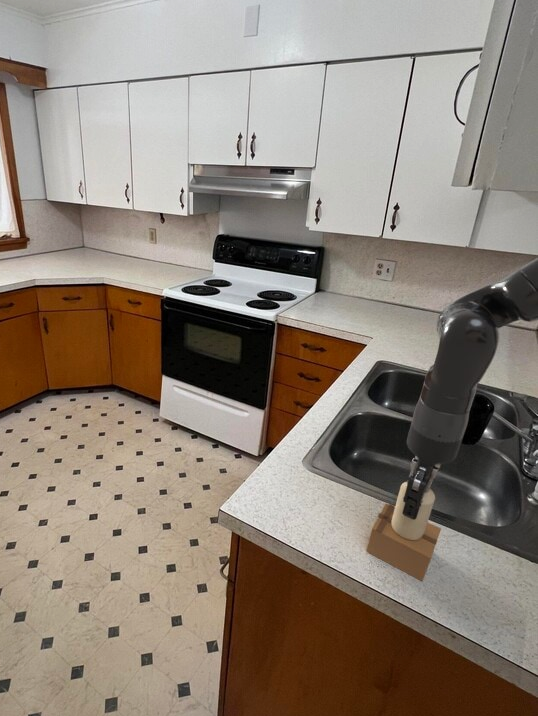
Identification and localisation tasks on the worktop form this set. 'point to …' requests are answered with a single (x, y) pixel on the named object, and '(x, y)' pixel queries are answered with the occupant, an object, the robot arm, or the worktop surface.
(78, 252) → the worktop surface
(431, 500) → the candle
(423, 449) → the robot arm
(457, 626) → the worktop surface
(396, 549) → the cardboard box
